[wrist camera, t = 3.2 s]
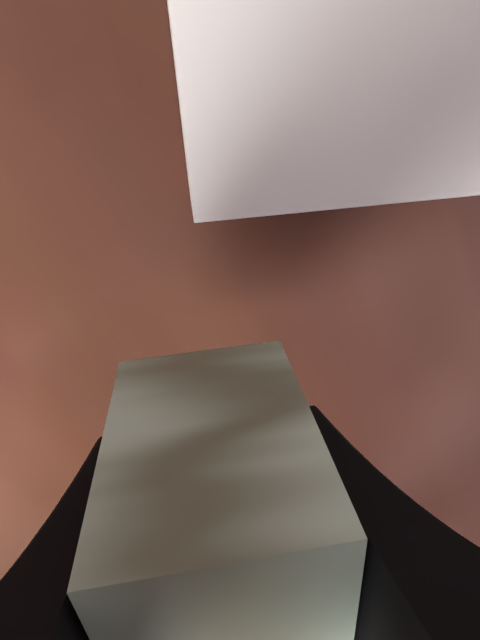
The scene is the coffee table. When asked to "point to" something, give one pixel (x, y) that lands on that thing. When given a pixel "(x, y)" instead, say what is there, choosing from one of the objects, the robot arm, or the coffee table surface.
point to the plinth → (326, 103)
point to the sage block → (216, 508)
